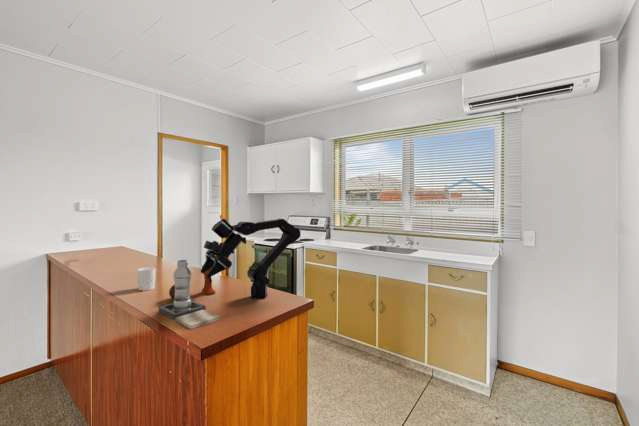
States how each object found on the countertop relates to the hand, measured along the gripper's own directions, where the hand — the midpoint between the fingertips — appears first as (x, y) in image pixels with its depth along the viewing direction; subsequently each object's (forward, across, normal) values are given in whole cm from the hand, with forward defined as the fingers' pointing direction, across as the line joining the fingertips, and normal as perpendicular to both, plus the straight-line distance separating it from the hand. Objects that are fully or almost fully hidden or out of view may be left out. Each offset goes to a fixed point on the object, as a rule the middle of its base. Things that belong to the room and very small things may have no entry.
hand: (204, 274), depth 123 cm
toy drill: (+5, -14, +15) cm, 21 cm away
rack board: (+14, +14, +5) cm, 20 cm away
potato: (+14, -14, +4) cm, 20 cm away
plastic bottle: (+16, +1, +3) cm, 16 cm away
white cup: (+21, -41, -3) cm, 46 cm away
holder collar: (+16, +1, +2) cm, 16 cm away
